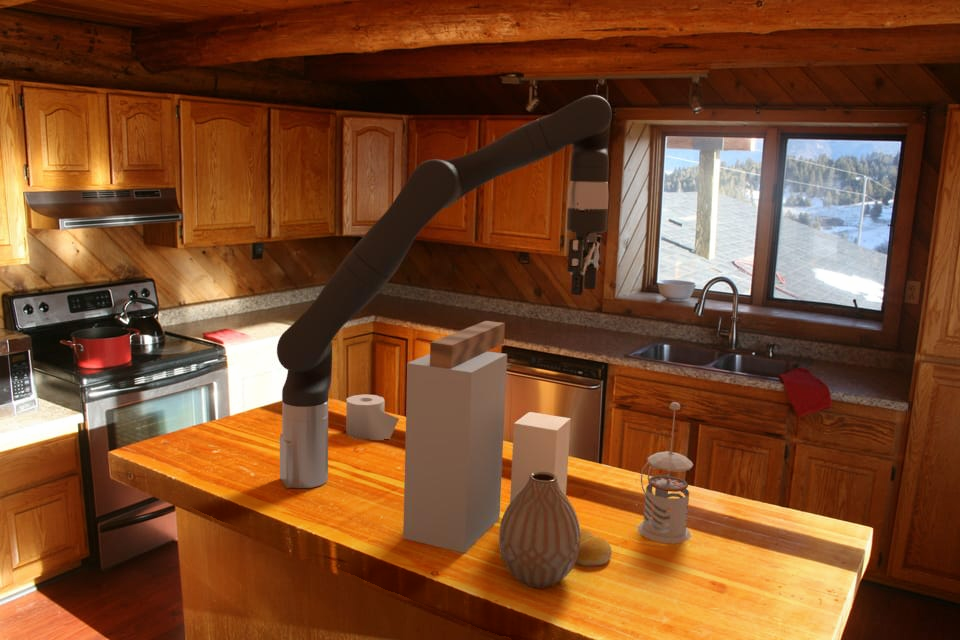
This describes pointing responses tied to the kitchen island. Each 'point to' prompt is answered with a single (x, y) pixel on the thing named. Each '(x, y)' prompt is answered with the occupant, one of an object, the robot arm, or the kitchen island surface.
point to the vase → (540, 533)
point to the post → (539, 449)
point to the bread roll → (593, 549)
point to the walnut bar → (466, 344)
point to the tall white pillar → (453, 450)
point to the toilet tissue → (368, 418)
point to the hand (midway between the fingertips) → (583, 291)
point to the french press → (666, 497)
